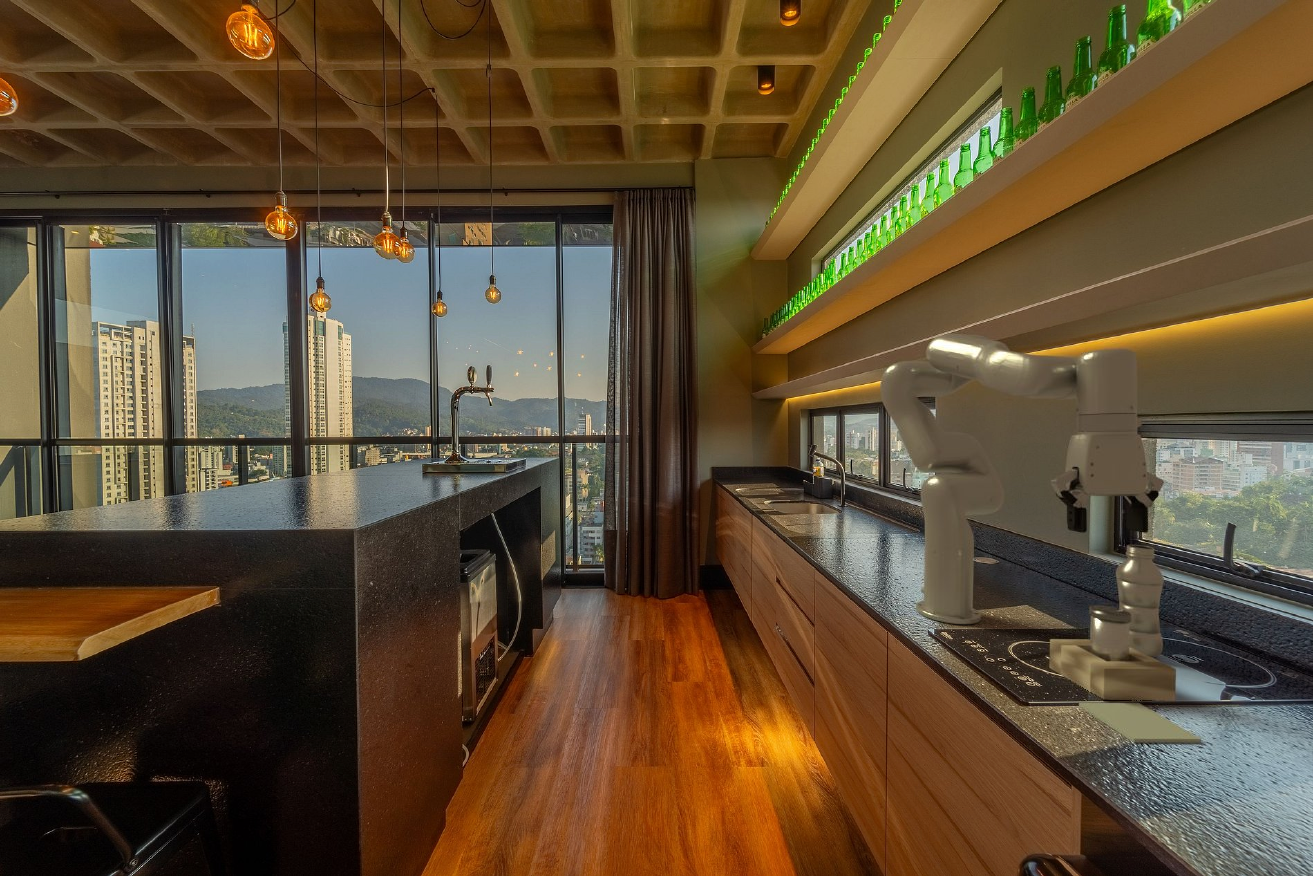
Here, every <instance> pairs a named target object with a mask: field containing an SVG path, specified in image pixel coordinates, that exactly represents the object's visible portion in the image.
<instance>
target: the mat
mask: <svg viewBox="0 0 1313 876" xmlns="http://www.w3.org/2000/svg"><path fill="white" fill-rule="evenodd" d="M1078 707H1080V708H1082V710H1084V711H1086V712H1087V713H1089V714H1090V715H1092V716H1093V717H1095V718H1096V719H1097V720H1099V721H1101V722H1103V724H1106V726H1108V727H1110V728H1111V729H1112V730H1114V731H1116V732H1117V733H1119V734H1120V735H1122V736H1123V737H1125V738H1126V739H1128V740H1129V741H1131V742H1132V743H1155V744H1156V743H1159V744H1160V743H1165V744H1166V743H1172V744H1173V743H1174V744H1176V743H1177V744H1178V743H1180V744H1181V743H1183V744H1186V743H1187V744H1188V743H1189V744H1190V743H1191V744H1192V743H1194V744H1195V743H1196V744H1197V743H1199V744H1202V738H1201V737H1198V736H1197V735H1195V734H1193V733H1192V732H1190V731H1188V730H1186V729H1185V728H1183V727H1182V726H1180V725H1178V724H1176V723H1174V722H1173V721H1171V720H1170V719H1167V718H1165V717H1164V716H1161V715H1160V714H1158V713H1157V712H1155V711H1153V710H1152V709H1150V708H1149V707H1146V706H1145V705H1143V704H1142V703H1139V702H1079V703H1078Z"/></svg>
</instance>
